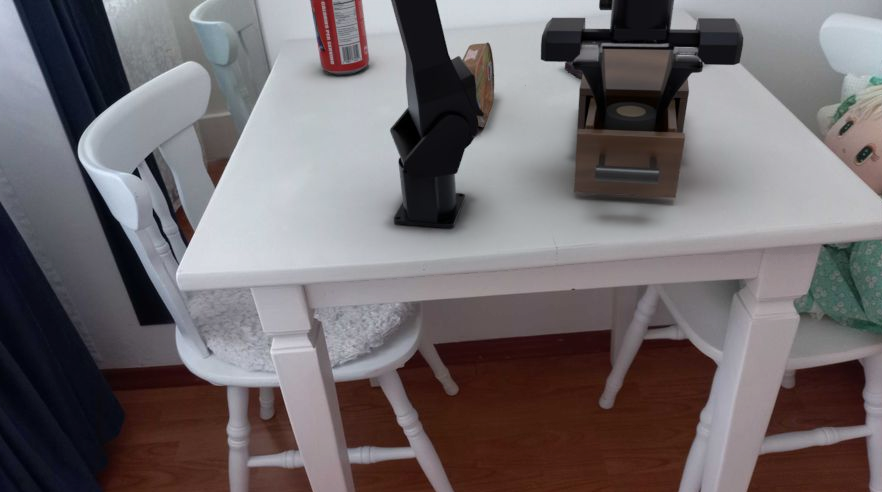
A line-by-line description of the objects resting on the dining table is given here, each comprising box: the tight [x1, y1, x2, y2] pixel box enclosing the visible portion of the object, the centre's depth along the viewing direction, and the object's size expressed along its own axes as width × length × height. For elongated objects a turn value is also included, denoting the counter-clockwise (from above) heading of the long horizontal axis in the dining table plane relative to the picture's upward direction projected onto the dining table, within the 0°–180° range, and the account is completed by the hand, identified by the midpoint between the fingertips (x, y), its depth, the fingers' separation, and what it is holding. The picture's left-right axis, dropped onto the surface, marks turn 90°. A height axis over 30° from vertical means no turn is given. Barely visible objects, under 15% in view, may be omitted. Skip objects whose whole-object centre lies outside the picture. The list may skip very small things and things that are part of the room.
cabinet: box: [575, 49, 690, 145], centre depth 84 cm, size 14×12×9 cm
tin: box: [462, 42, 495, 128], centre depth 93 cm, size 15×3×8 cm, turn 168°
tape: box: [604, 102, 657, 132], centre depth 74 cm, size 5×5×4 cm
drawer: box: [573, 95, 686, 199], centre depth 74 cm, size 17×10×7 cm, turn 166°
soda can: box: [309, 0, 370, 76], centre depth 109 cm, size 8×8×15 cm
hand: (630, 121), depth 74 cm, fingers closed on tape, 5 cm apart
